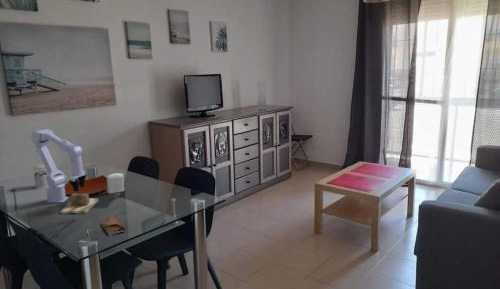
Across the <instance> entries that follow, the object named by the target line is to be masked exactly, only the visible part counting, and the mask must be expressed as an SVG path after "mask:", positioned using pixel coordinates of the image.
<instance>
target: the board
mask: <svg viewBox="0 0 500 289" xmlns="http://www.w3.org/2000/svg"><path fill="white" fill-rule="evenodd" d="M98 202H99V197H98V198H97V197H95V198H93V197H92V198H91V197H90V198H89V204H88V205H87V206H71V202H69V203H68V204H66V206H65V207H63V208H62V209H61V210H59V211H60V214H65V215H66V214H67V213H68V214H69V215H71V214H70V213H76V214H87V213H88V212H89V211H90V210H91V209H92V208H93V207H94V206H95V205H96V204H97V203H98Z"/></svg>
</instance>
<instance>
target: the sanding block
mask: <svg viewBox="0 0 500 289" xmlns="http://www.w3.org/2000/svg"><path fill="white" fill-rule="evenodd" d="M89 196H90V195H89V193H87V192H86V193H85V192H84V193H83V192H82V193H79V192H78V193H72V194H70V195H69V200H70V202H71V206H87V205H88V204H89ZM70 202H69V203H70Z"/></svg>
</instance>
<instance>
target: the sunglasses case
mask: <svg viewBox="0 0 500 289" xmlns="http://www.w3.org/2000/svg"><path fill="white" fill-rule="evenodd" d="M115 216H116V215H114V214H112V215H111V216H110V217H108V218H107V219H105V220H104V221H102V222H100V224H102V225H103V226H104V228H105V229H106V230H107V231H109V232H116V231H121V230H125V231H126V229H125V226H123V224H122V223H120V221H119V220H118V218H117V217H115ZM104 228H103V229H104ZM105 229H104V230H105Z"/></svg>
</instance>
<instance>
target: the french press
mask: <svg viewBox="0 0 500 289" xmlns="http://www.w3.org/2000/svg"><path fill="white" fill-rule="evenodd" d="M35 153H37V154H39V153H38V151H37V150H36V151H35ZM39 157H40V156H37V159H38V161H40V158H39ZM32 169H33V170H34V172H33V177H34V184H35V186H34V187H35V188H37V189H36V190H42V189H43V190H44V189H47V188H48V187H49V186H48V184H47V180H46V176H47V174H48V172H47V170H46V171H45V170H44V171H43V170H42V169H46V168H45V166H44V164H43V163H42V164H41V163H38V164H36V165H34V166H32ZM38 170H39V171H38ZM35 188H34V189H35Z"/></svg>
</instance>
